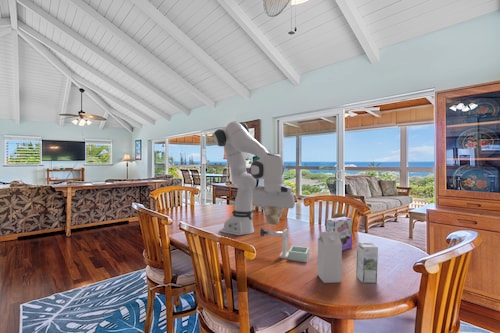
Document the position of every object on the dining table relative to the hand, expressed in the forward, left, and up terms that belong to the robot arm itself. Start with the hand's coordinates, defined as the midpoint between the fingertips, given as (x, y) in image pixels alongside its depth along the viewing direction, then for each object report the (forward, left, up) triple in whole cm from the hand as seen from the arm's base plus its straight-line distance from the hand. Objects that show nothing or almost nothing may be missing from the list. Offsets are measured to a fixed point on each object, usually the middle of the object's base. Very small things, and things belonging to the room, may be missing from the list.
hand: (273, 216), depth 121 cm
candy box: (+29, +27, -21) cm, 45 cm away
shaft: (-1, +7, -12) cm, 14 cm away
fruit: (+29, +50, -21) cm, 62 cm away
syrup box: (+40, -7, -21) cm, 46 cm away
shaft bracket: (+9, +7, -21) cm, 24 cm away
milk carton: (+26, -11, -21) cm, 35 cm away
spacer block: (0, 0, -3) cm, 3 cm away
